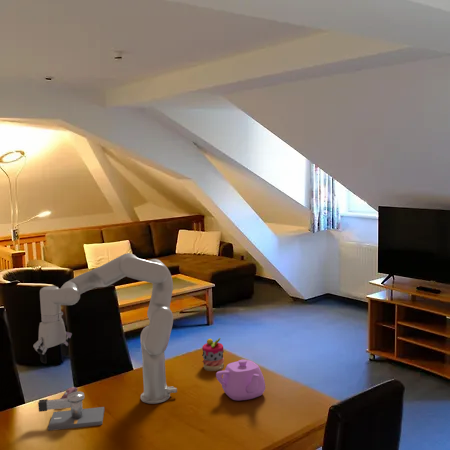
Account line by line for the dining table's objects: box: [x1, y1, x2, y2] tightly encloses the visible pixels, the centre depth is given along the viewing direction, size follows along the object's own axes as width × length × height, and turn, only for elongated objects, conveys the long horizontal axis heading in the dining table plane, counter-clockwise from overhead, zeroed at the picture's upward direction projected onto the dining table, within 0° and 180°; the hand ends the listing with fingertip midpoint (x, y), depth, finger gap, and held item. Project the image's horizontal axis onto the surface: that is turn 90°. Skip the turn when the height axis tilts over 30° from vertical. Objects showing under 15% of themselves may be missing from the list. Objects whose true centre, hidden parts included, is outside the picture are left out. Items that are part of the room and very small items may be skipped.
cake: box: [201, 337, 225, 372], centre depth 248 cm, size 10×10×15 cm
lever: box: [37, 390, 85, 419], centre depth 199 cm, size 17×6×9 cm, turn 99°
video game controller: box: [59, 386, 79, 399], centre depth 217 cm, size 10×5×7 cm, turn 168°
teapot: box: [215, 358, 266, 401], centre depth 214 cm, size 23×21×15 cm
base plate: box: [47, 406, 105, 431], centre depth 200 cm, size 20×12×2 cm, turn 99°
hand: (54, 358), depth 203 cm, fingers open, 9 cm apart
